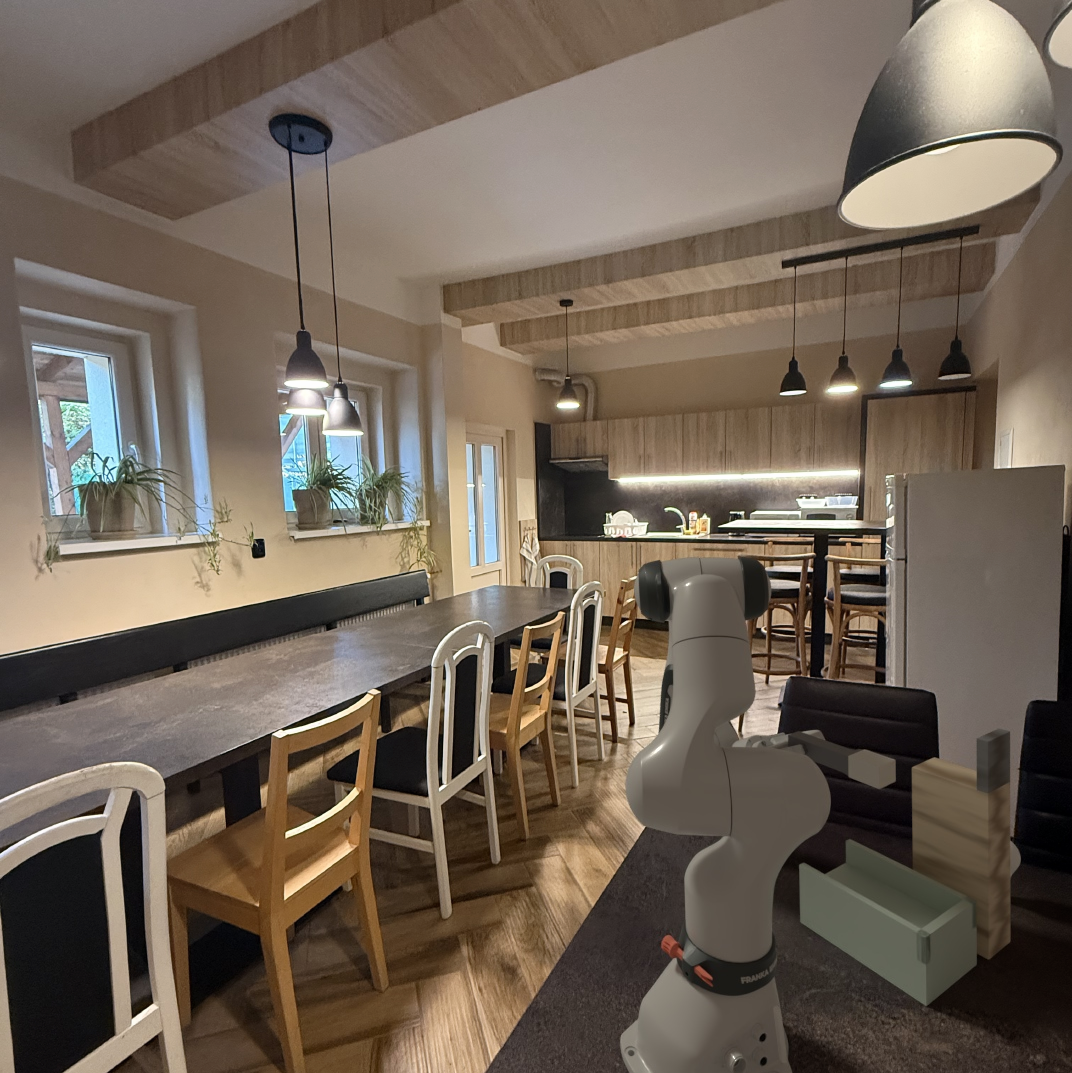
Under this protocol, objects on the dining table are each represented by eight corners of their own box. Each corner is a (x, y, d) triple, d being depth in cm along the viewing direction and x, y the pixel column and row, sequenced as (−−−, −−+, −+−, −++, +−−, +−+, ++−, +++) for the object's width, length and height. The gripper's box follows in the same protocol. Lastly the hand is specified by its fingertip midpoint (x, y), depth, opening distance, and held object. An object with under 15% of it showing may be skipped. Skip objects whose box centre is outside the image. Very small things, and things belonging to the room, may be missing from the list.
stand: (988, 959, 91) (987, 741, 89) (913, 917, 100) (911, 720, 99) (1010, 941, 94) (1010, 731, 92) (935, 902, 104) (934, 711, 102)
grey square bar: (879, 789, 92) (879, 767, 92) (785, 752, 107) (785, 733, 106) (895, 781, 94) (895, 759, 94) (801, 746, 109) (801, 727, 109)
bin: (926, 1006, 83) (925, 937, 83) (800, 922, 100) (799, 864, 100) (976, 964, 90) (976, 900, 89) (850, 892, 107) (849, 838, 107)
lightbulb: (1028, 910, 101) (1028, 847, 100) (988, 906, 102) (987, 844, 102) (1008, 887, 107) (1008, 827, 106) (969, 884, 108) (969, 825, 108)
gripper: (712, 756, 111) (764, 741, 100) (784, 731, 121) (838, 715, 111) (726, 792, 109) (781, 780, 98) (798, 763, 119) (855, 749, 108)
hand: (812, 745), depth 104 cm, fingers closed on grey square bar, 3 cm apart
